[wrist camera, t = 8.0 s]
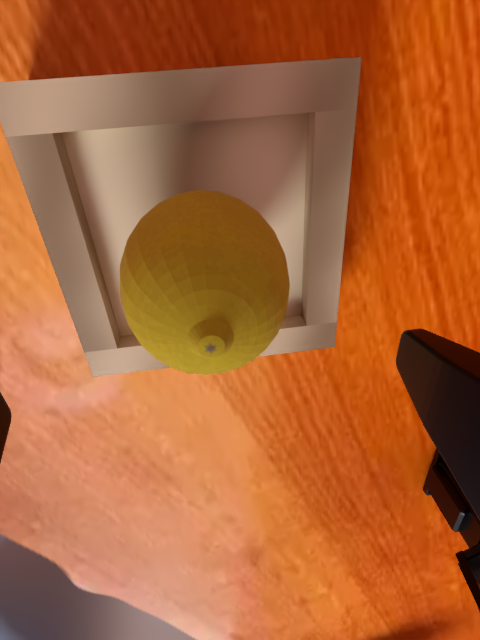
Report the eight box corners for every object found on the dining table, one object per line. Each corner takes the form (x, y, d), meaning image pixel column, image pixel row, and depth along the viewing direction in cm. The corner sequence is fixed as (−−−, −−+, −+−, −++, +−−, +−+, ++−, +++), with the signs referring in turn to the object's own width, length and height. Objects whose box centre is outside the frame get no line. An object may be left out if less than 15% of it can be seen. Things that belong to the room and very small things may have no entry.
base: (327, 62, 15) (361, 56, 12) (314, 311, 22) (334, 347, 19) (27, 84, 14) (-14, 83, 11) (106, 336, 21) (93, 376, 18)
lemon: (117, 183, 14) (54, 268, 8) (257, 158, 14) (317, 220, 8) (155, 304, 17) (134, 442, 11) (271, 283, 17) (322, 406, 11)
